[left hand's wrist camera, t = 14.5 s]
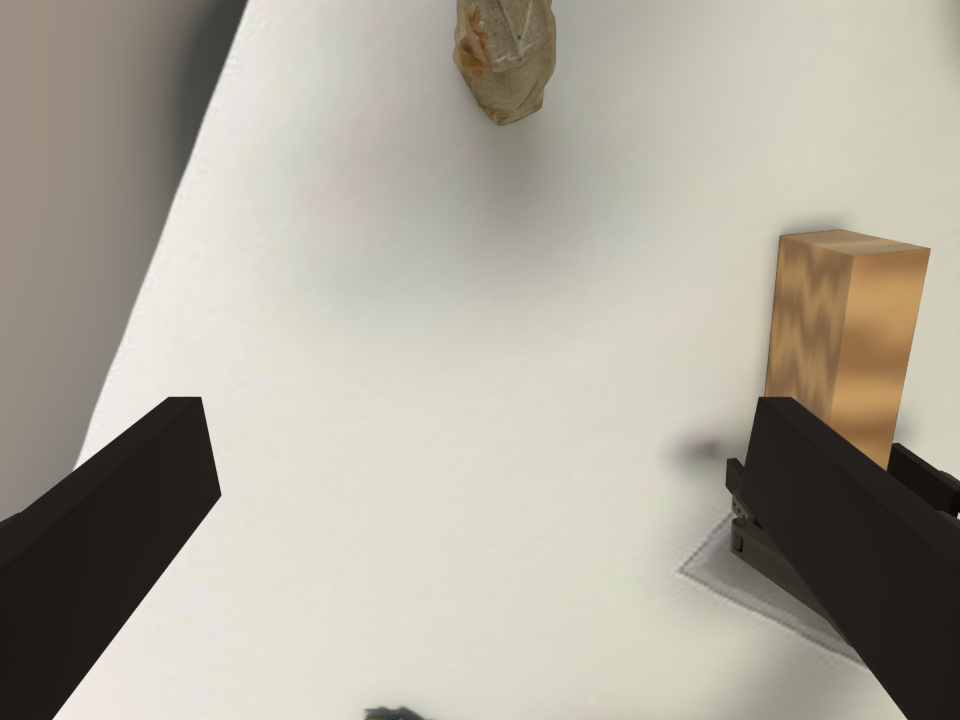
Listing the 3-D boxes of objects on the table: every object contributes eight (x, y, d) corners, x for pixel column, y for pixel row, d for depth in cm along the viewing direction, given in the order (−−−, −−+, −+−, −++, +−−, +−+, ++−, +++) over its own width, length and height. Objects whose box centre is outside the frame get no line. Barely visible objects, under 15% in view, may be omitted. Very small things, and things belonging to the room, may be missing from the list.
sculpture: (523, -4, 36) (550, -103, 22) (554, 107, 39) (595, 81, 25) (442, 30, 37) (419, -46, 23) (477, 136, 39) (476, 127, 25)
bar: (780, 235, 42) (854, 256, 34) (841, 229, 42) (931, 248, 34) (756, 482, 50) (810, 548, 42) (807, 478, 50) (872, 543, 42)
